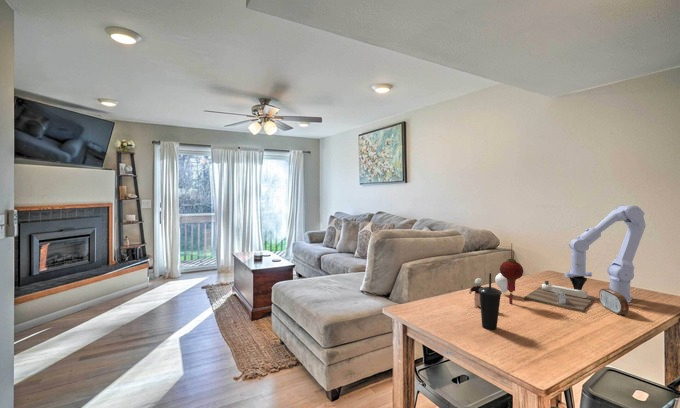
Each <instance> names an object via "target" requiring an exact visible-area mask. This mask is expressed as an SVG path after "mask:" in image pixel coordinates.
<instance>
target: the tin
mask: <svg viewBox="0 0 680 408" xmlns="http://www.w3.org/2000/svg"><path fill="white" fill-rule="evenodd" d="M598 294H599V295H598V296H599V301H600V303H601V305H602V306H603V307H604V308H606V309H607V310H609V311H610V312H613V313H614V314H616V315H623V316H624V315H625V316H626V315H627V314H628V313H629V310H630V309H629V307H630V306H629V302H627V300H626V298H625V297H624V296H623V295H622V294H620V293H618V292H616V291H614V290H612V289H610V287H609V288H601V289H599V293H598Z"/></svg>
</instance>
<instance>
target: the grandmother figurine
mask: <svg viewBox="0 0 680 408" xmlns="http://www.w3.org/2000/svg"><path fill="white" fill-rule="evenodd" d="M483 282H484V281H483V279H482V278H480V277H478V278H475V280H474V284H475V286H472V287H471V288H470V289H469V292H468V293H469V295H471V294H472V293H473V292H474V295H473V296H474V299H473V300H474V306H473V307H474V308H476V309H477V308H478V309H479V308H480V309H481V305H480V292H479V289H480V288H483V287H484V286H483Z"/></svg>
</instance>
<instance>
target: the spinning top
mask: <svg viewBox="0 0 680 408" xmlns="http://www.w3.org/2000/svg"><path fill="white" fill-rule="evenodd" d="M494 279H495V283H496V285H497V287H498V289H499V290H500V291H501V292H502V293H503V295H505V293H506V292H508V290H507V279H506V278H505V277H504V276H502V274H501V273H500V272H499V273H498V274H497V275H496V276H495V278H494Z"/></svg>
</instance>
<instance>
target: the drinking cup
mask: <svg viewBox="0 0 680 408" xmlns="http://www.w3.org/2000/svg"><path fill="white" fill-rule="evenodd" d="M482 287H483V288H480V289H479V292H480V305H481V308H480V313H481V314H480V315H481V327H482V328H483V329H485V330H490V331H496V330H497V328H498V322H499V321H498V320H499V312H500V303H501V295H502V293H503V292H502V291H501V290H500V289H499V288H498V289H497V288H495V287H493V286H492V273H491V272H489V275H488V286H482Z"/></svg>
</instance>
